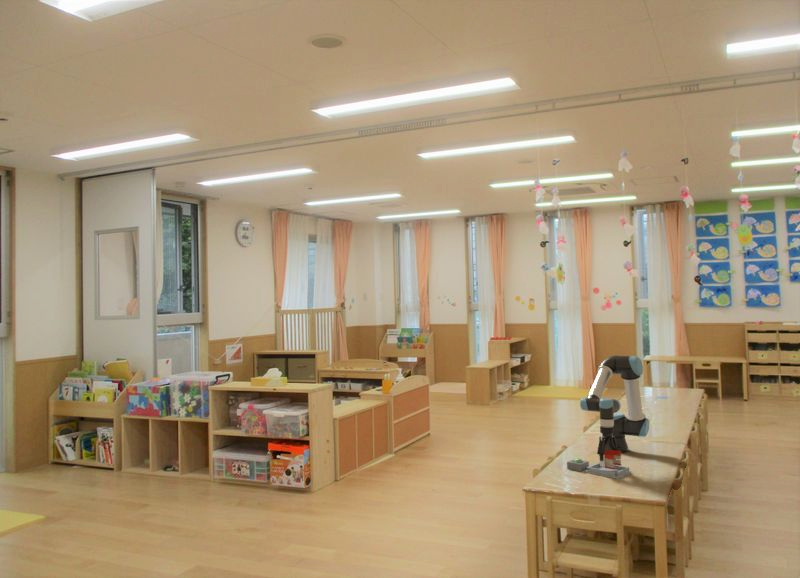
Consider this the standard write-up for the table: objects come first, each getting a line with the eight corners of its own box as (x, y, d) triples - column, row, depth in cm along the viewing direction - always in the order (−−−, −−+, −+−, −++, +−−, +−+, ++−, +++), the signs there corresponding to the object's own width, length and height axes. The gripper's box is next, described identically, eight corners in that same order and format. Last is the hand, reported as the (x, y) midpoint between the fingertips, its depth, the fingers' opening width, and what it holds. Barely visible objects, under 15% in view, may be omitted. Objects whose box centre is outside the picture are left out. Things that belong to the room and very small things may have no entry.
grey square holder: (575, 465, 375) (575, 459, 375) (589, 468, 368) (588, 461, 368) (567, 468, 369) (567, 461, 369) (581, 471, 362) (580, 464, 362)
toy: (604, 462, 366) (604, 448, 366) (622, 465, 360) (621, 451, 360) (595, 467, 357) (595, 452, 357) (614, 469, 350) (613, 455, 350)
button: (576, 465, 371) (576, 458, 372) (583, 466, 368) (582, 459, 369) (572, 467, 369) (572, 459, 369) (579, 468, 366) (579, 460, 366)
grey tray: (598, 466, 372) (598, 461, 372) (631, 473, 357) (631, 467, 357) (585, 472, 360) (584, 467, 360) (618, 479, 346) (617, 473, 346)
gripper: (611, 422, 370) (611, 458, 370) (590, 428, 353) (591, 467, 353) (623, 423, 365) (624, 461, 365) (602, 430, 348) (603, 469, 348)
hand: (607, 464), depth 359 cm, fingers closed on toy, 12 cm apart
